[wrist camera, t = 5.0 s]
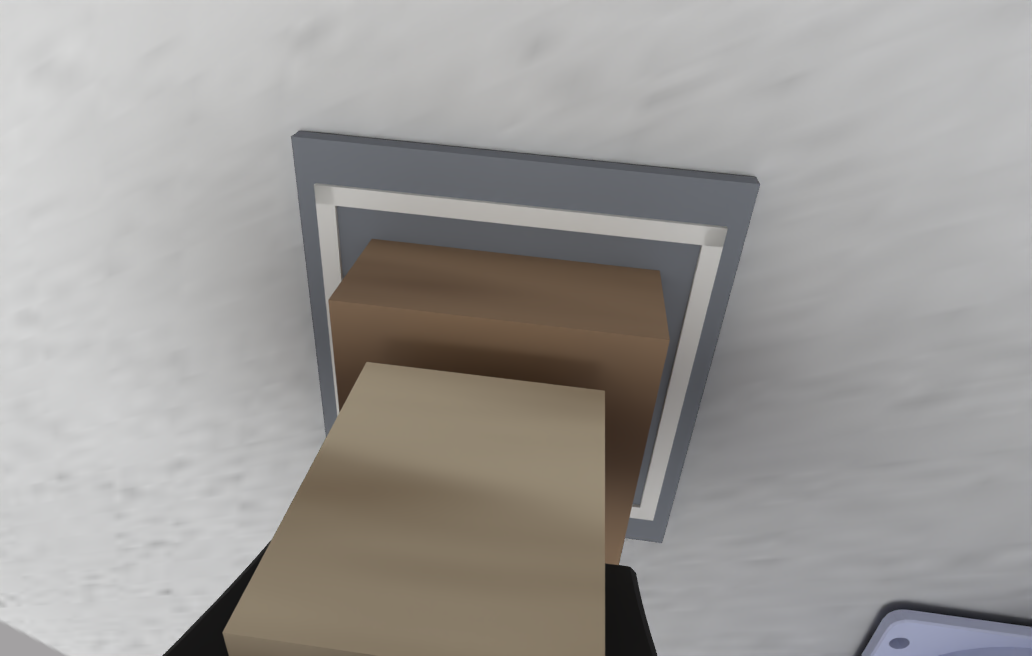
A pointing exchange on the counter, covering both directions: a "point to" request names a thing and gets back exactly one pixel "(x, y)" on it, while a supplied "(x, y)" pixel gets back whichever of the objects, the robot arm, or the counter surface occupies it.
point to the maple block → (440, 526)
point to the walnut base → (514, 335)
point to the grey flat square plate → (538, 249)
